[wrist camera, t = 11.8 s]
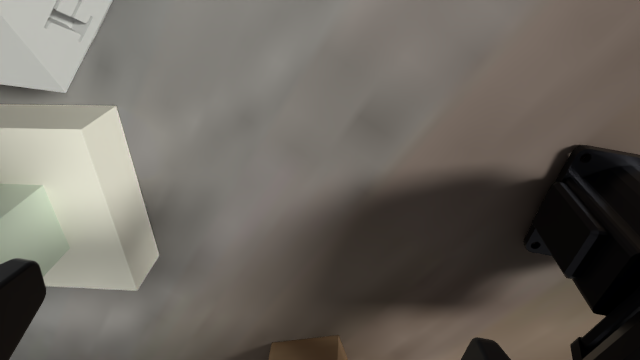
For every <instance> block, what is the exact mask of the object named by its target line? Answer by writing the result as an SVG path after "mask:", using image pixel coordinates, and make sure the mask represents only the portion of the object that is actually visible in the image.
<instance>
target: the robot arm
mask: <svg viewBox="0 0 640 360" xmlns="http://www.w3.org/2000/svg"><path fill="white" fill-rule="evenodd" d="M584 154H587V156H586V157H585V158H583V159H580V157H581V156H582V155H584ZM532 223H533V224H532V226H531V228H530V229H529V231H528V233H527V235H526V237H525V239H524V241H523V242H524V245H525V247H526V249H527V250H528V251H530V252H533V253H539V254H545V255H550V256H553V258H554V259H555V261H556V263H557V264H558V266H559V267H560V269H561V271H562V272H563V274H564V275H565V277H566V278H569V279H572V280H573V281H574V283H575V285H576V286H577V288H578V289H579V291H580V293H581V294H582V296H583V297H584V299H585V300H586V302H587V304H588V305H589V307H590V308H591V310H592V311H593V313H595V314H599V315H605V316H606V317H605V318H604V319H602V320H601V321H600V322H599V323H598V324H597V325H596V326H595V327H593V328H592V329H591V330H590V331H589V332H588V333H587V334H586V335H585V336H583V337H578V338H577V339H576V340H575V341H574V342H573V343H572V344H571V352H572V358H573V360H640V155H637V154H632V153H626V152H621V151H615V150H610V149H604V148H599V147H593V146H588V145H582V146H579V147H577V148H575V149H574V150H573V152H572V153H571V155H570V156H569V158H568V160H567V162H566V164H565V166H564V167H563V169H562V171H561V173H560V175H559V177H558V178H557V180H556V182H555V183H554V184H553V185H552V186H551V188H550V190H549V192H548V194H547V195H546V197H545V199H544V201H543V203H542V205H541V206H540V208H539V210H538V212H537V214H536V215H535V217H534V219H533V221H532ZM534 242H537V243H535V244H532V243H534ZM45 295H46V286H45V283H44V279H43V276H42V272H41V269H40V266H39V264H38V263H37V262H36V261H33V260H27V259H21V258H14V259H11V260H8V261H6V262H4V263H2V264H0V360H9V359H10V357H11V355H12V354H13V352H14V350H15V348H16V347H17V345H18V343H19V342H20V340H21V338H22V337H23V335H24V333H25V331H26V330H27V328H28V326H29V325H30V323H31V321H32V320H33V318H34V316H35V314H36V313H37V311H38V309H39V308H40V306H41V304H42V302H43V300H44V298H45ZM461 360H511V359H510V358H509V357H508V356H507V354H506V353H505V352H504V351H503V350H502V348H501V347H500V346H499V345H498V344H497V343H496V342H495V341H493V340H489V339H483V338H474V339H472V341H471V342H470V344H469V346H468V348H467V349H466V351H465V353H464V355H463V357H462V358H461Z"/></svg>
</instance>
